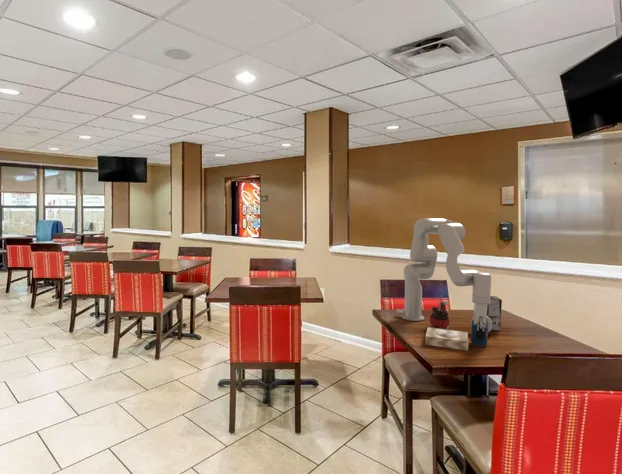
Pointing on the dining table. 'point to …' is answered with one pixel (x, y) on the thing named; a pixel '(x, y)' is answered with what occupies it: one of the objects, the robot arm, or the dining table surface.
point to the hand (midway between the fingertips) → (479, 336)
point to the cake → (440, 316)
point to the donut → (488, 323)
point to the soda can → (473, 335)
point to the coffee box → (495, 312)
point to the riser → (447, 338)
